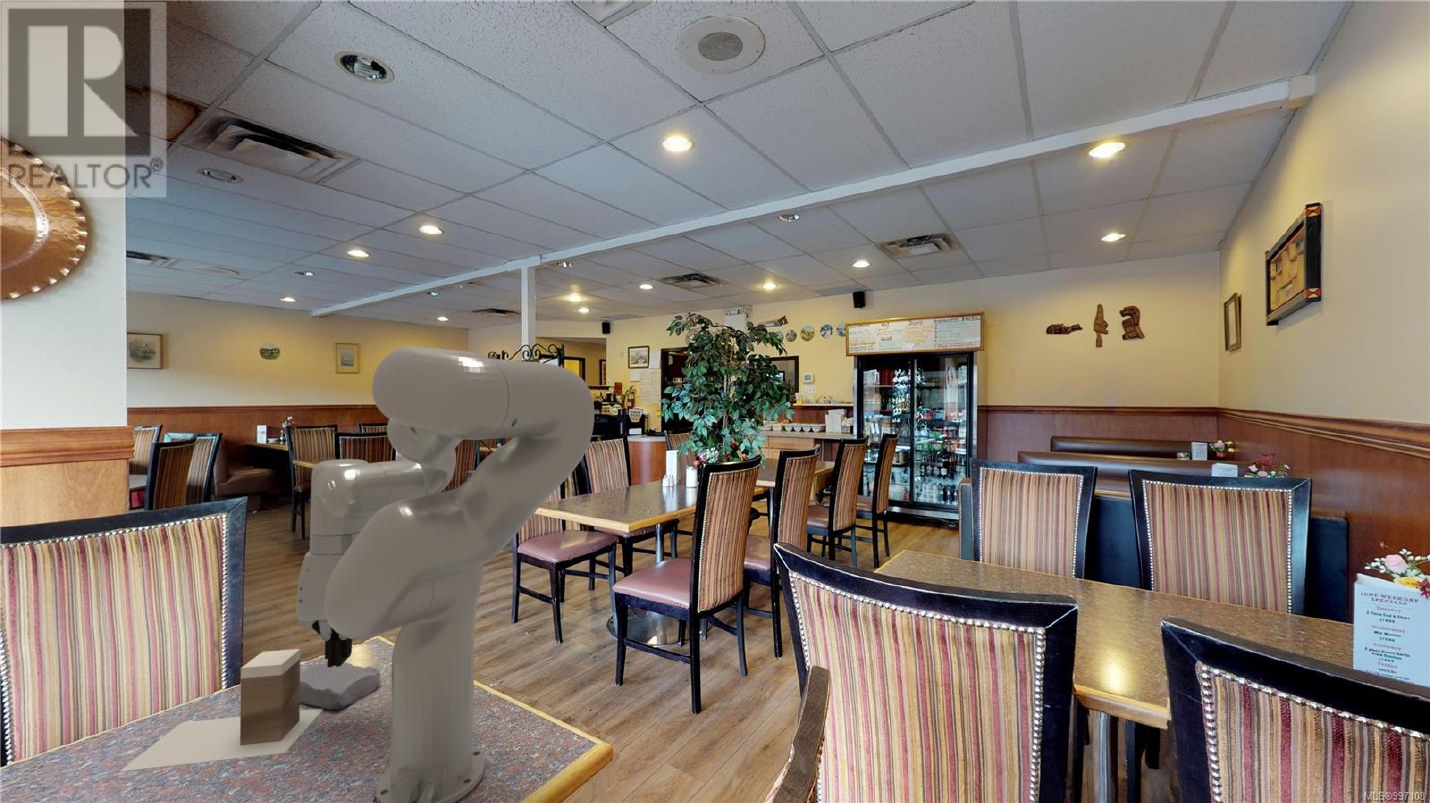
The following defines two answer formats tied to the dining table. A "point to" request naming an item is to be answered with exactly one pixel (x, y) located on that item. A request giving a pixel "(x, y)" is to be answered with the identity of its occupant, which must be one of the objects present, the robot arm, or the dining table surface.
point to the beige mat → (213, 743)
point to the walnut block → (270, 696)
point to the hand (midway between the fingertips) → (338, 662)
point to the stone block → (336, 685)
